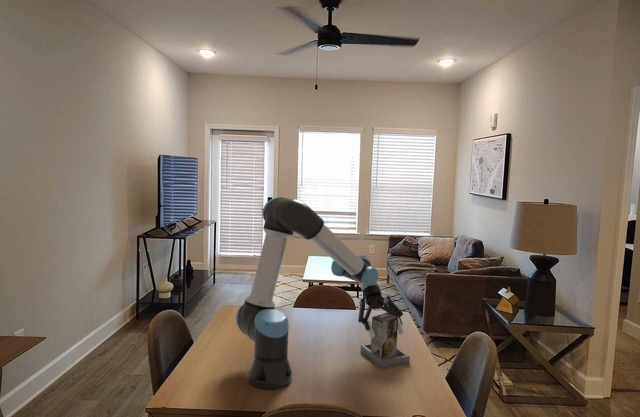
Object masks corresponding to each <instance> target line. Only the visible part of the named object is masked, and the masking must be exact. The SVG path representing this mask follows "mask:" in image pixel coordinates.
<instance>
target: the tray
mask: <svg viewBox="0 0 640 417" xmlns="http://www.w3.org/2000/svg"><path fill="white" fill-rule="evenodd" d="M360 353H362V355H364V356H365V357H366V358H368V360H370V362H372V363H374V364H375V365H376V366H377V367H378V368H380V369H381V370H382V369H387V368H394V367H397V366H398V367H399V366H404V365H409V364H410V362H411V361H410V357H411V356H410V355H409V354H408V353H406V352H405V351H403V350H402V349H401V348H399V347H397V355H396V356H393V357H391V358H388V359H384V360H382V359H381V358H379V357H378V356H377V355H376V354H374V353H373V352H372V351H371V342H370V343H365V344H360Z"/></svg>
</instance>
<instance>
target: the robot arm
mask: <svg viewBox="0 0 640 417" xmlns="http://www.w3.org/2000/svg"><path fill="white" fill-rule="evenodd" d="M262 218H263V221H264V224H263V227H262V229H263V231H264V233H265V236H264V240H263V244H262V248H261V252H260V255H259V259H258V262H257V268H256V272H255V276H254V278H253V279H254V280H253V284H252V287H251V291H250V295H248V296H247V297H245V298H244V302H243V304H242V305H241V306H239V308H238V309H237V311H236V314H235V322H236V325H237V327H238V329H239V330H240V331H241V333H242V334H244V335H246V337H248V338H249V339H250V340H252V342H254V358H253V361H252V363H251V366H250V370H249V371H248V372H249V373H248V381H249V383H250V384H251V386H253V387H255V388H258V389H262V390H276V389H281V388H283V387H286V386H287V385H289V384H290V383H291V382H292V379H293V377H292V376H293V370H292V368H291V365H290V361H289V358H288V352H289V351H288V349H289V348H288V346H289V344H288V343H289V330H290V329H289V328H290V327H289V318H288V316H287V314H286V313H284V312H282V311H281V310H276V309H275V307H276V304H275V302H274V300H273V298H274V295H275V290H276V287H277V283H278V279H279V275H280V271H281V267H282V262H283V259H284V254H285V251H286V246H287V243H288V240H289V239H290V238H291V237H293V235H294V233H296V234H297V235H300V236H301V237H303V239H305V240H307V241H311V242H312V243H314V244H315V245H316V246H317V247H318V248H320V249H321V251H323V252H324V253H325V254H326V255H327V256H329V258H331V259H332V262H331V266H330V269H331V274H333V275H334V276H336V277H344V278H347V279H349V280H352V281H354V282H358V283H359V286H360V289H361V291H362V294H363V297H364V298H361V299H360V300H359V311H358V312H359V313H358V320H357V321H358V323H360V324H362V325H363V326H364V328H365V331H367V332H368V335H369V338H370V340H371V339H373V338H374V337H375V334H374V331H373V328H372V322H371V320H369V318H370V315H371V313H372V311H373V310H383V311H384V312H385V313H389V314H392V315H394V316H396V317H398V331H397V332H398V334H399V335H400V336H401V335H402V334H404V333H405V330H404V327H403V321H402V319H401V318H402V316H404V312H403V311H402V310H401V309H400V308H399V307H398V306H397V305H396V304H395V303H394V301H393V300H392V299H391V297H390V296H389V295H387V296H386V297H383V294H382V290H381V287H380V285H379V282H378V280H379V271H378V269H377V268H376V267H373V266H372V264H371V262H370V260H369V258H368V256H367V255H365V254H360V255H359V254H356V253H355V252H354V251H353V250H352V249H351V248H350V247H349V246H348V245H346V244H345V243H344V242H343V241H342V239H340V238H339V237H338V236H337V235H336V234H335V233H334V232H333V231H331V229H329V228H328V227H327V225H326V224H325V221H324V219H323V218H322V217H321V216H320V215H319V214H317V213H316V212H315V211H314V209H312V208H311V207H310V206H308V205H307V204H306V203H305V202H303V201H302V200H299V199H295V198H289V197H288V198H287V197H282V196H280V197H279V196H278V197H274V198H271V199H269V200H267V202H266V203H265V204H264V206H263V208H262ZM366 305H367V310H366V312H365V308H366Z"/></svg>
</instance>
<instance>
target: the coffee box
mask: <svg viewBox="0 0 640 417" xmlns="http://www.w3.org/2000/svg"><path fill="white" fill-rule="evenodd" d="M371 325H372V328H373V331H374V334H375V337H374V338H373V339H371V338H370V343H371V351H372V352H373V353H374V354H376V355H377V356H378V357H379V358H381V359H382V360H384V359H388V358H391V357H393V356H396V355H397V348H398V332H399V331H398V317H396V316H394V315H392V314H389V313H387V312H385V313H381V314H378V315H375V316H371Z"/></svg>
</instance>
